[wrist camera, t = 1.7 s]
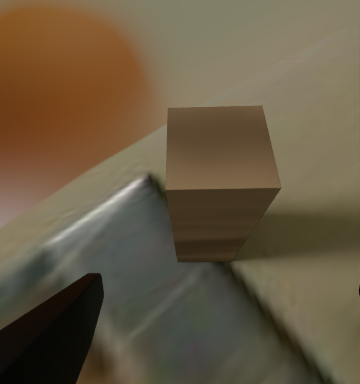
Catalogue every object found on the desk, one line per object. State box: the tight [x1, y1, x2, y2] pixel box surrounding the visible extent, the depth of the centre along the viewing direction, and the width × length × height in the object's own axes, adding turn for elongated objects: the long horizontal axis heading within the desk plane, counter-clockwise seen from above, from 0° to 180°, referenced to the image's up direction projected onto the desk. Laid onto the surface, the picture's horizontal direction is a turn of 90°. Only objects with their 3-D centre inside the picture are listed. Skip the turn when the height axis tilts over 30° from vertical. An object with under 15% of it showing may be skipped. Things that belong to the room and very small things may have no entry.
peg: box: [166, 106, 281, 262], centre depth 16 cm, size 4×4×12 cm
